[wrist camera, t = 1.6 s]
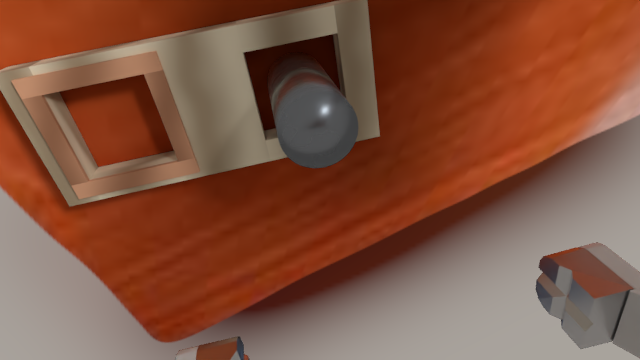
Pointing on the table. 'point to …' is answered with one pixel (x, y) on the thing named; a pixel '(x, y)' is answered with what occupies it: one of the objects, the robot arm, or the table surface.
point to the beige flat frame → (186, 97)
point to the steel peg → (310, 112)
